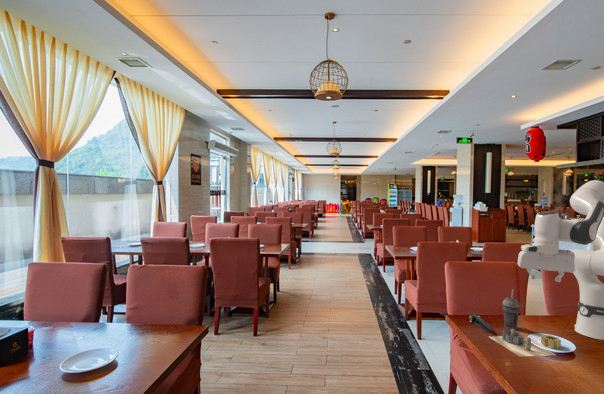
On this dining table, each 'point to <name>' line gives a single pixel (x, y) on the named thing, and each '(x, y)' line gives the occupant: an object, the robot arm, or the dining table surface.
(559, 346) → the gear
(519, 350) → the gear board
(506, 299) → the beverage cup
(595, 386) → the dining table surface
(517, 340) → the gear
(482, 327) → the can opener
